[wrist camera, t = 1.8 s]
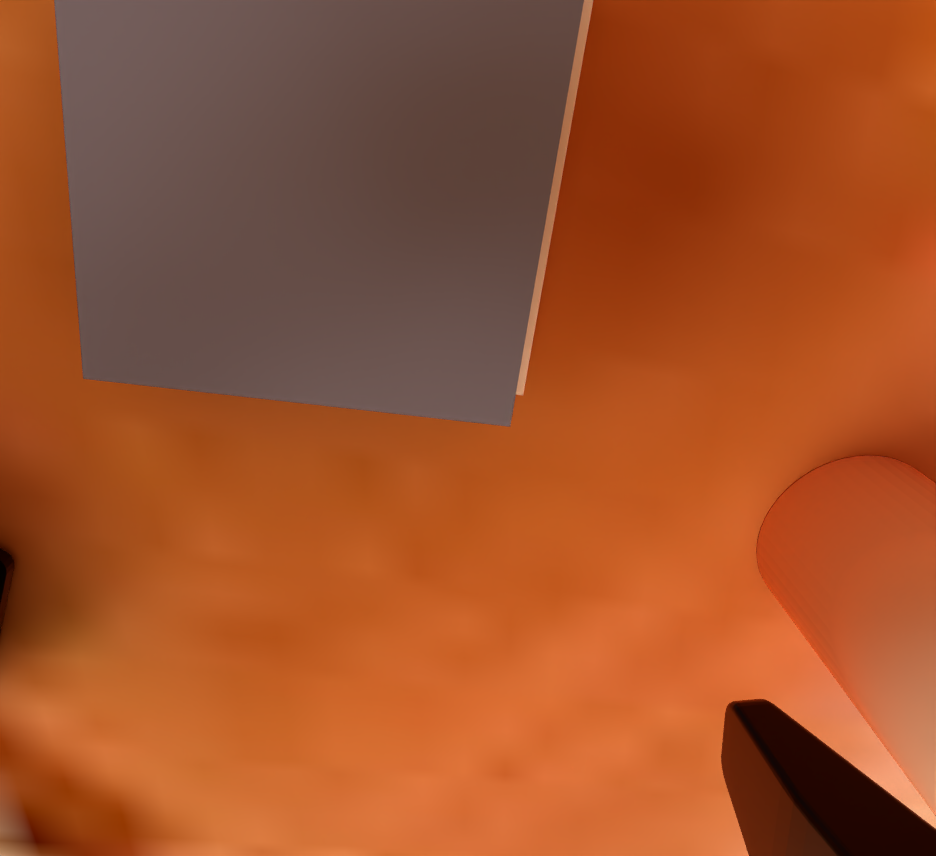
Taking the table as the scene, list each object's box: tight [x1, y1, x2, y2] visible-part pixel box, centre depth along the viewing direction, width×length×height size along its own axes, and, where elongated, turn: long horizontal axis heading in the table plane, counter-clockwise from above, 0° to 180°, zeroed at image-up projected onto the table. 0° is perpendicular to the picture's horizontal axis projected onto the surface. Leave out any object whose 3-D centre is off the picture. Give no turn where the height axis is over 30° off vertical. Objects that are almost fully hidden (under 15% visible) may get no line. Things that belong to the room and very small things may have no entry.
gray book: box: [54, 0, 593, 426], centre depth 15 cm, size 14×10×3 cm
